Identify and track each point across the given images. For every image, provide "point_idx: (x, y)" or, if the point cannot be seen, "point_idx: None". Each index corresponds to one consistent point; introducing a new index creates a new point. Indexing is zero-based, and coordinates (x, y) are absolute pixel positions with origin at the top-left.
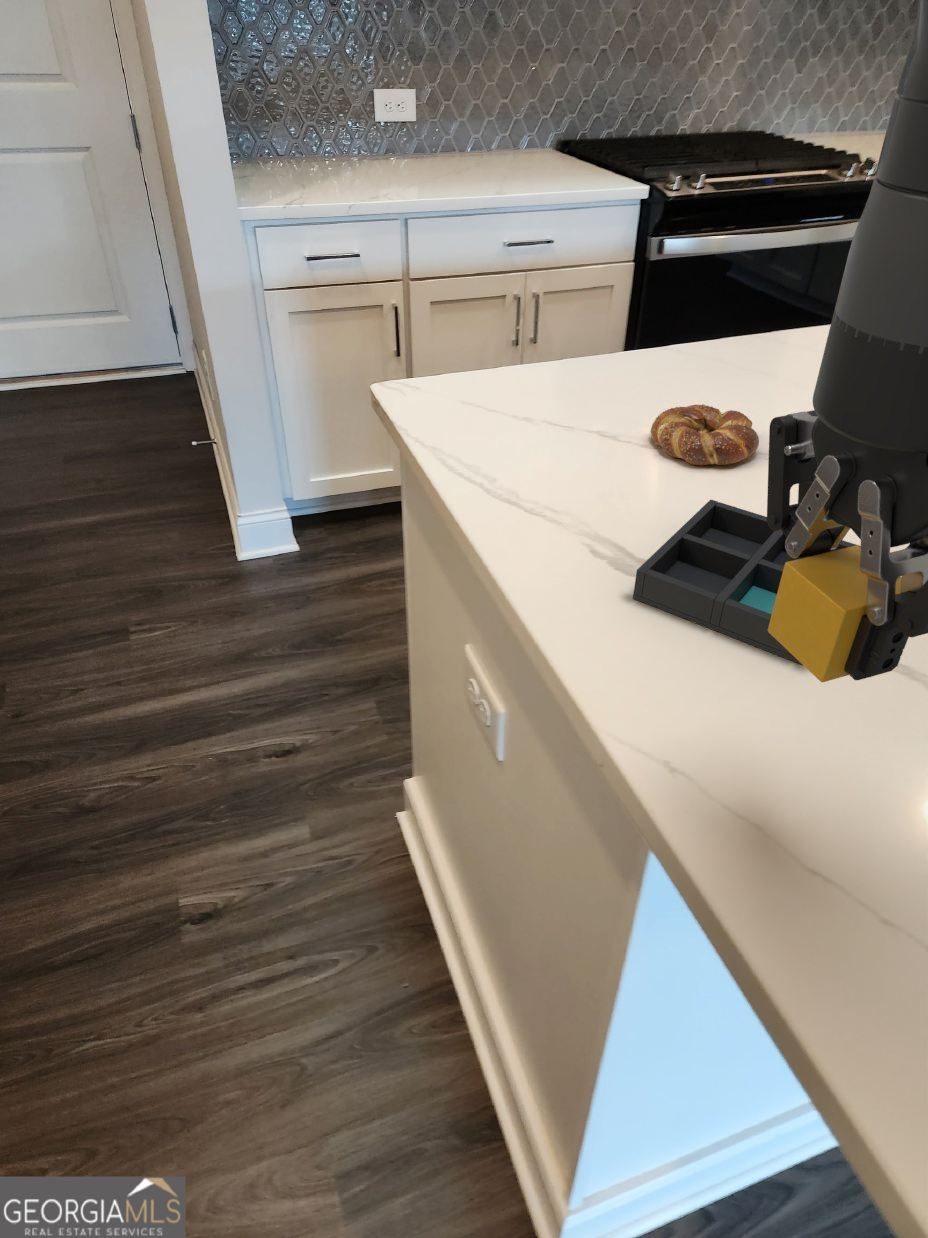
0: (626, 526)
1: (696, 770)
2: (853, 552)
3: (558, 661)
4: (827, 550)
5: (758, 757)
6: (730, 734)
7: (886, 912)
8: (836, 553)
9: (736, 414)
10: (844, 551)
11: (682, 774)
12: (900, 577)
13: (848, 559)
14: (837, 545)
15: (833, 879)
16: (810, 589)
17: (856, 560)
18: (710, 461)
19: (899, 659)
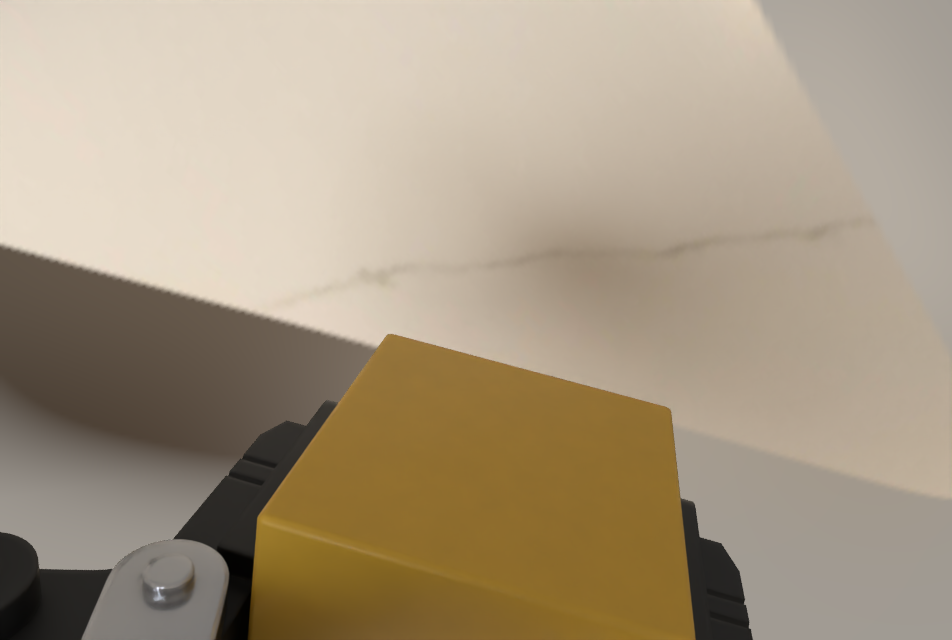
0: None
1: (402, 244)
2: (298, 579)
3: (67, 256)
4: (233, 625)
5: (435, 120)
6: (362, 119)
7: (806, 216)
8: (273, 637)
9: None
10: (276, 607)
11: (398, 271)
12: (563, 620)
13: (331, 637)
14: (226, 594)
15: (706, 235)
16: None
17: (354, 624)
18: None
19: (743, 596)
